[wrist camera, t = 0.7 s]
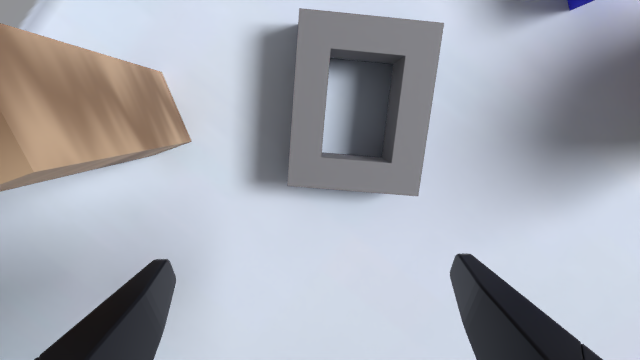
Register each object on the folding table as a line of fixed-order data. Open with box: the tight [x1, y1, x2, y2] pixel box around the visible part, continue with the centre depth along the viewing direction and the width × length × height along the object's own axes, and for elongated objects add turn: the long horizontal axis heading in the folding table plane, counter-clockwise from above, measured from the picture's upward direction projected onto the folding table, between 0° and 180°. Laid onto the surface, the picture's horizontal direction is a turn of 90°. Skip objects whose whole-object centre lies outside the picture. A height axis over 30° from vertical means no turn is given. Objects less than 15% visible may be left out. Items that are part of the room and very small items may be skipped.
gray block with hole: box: [287, 8, 444, 196], centre depth 21 cm, size 10×8×3 cm
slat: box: [0, 23, 191, 191], centre depth 16 cm, size 5×3×13 cm, turn 19°
